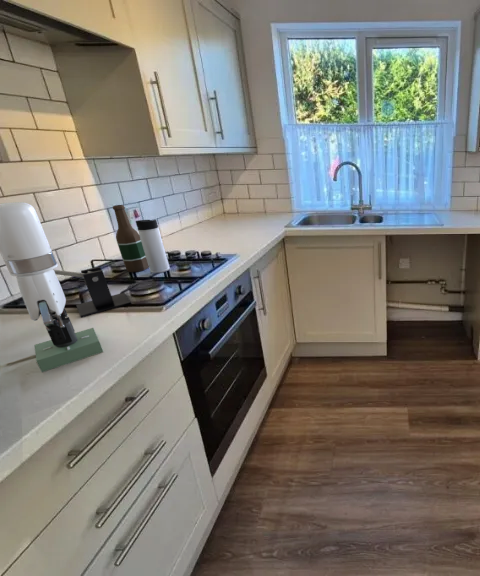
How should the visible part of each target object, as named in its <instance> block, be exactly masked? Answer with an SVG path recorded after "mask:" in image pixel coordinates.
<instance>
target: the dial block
mask: <svg viewBox="0 0 480 576" xmlns="http://www.w3.org/2000/svg"><path fill="white" fill-rule="evenodd" d="M75 334H76V336H77V339H78V340H77V341H76V342H75V343H74V344H71V345H69V346H65V347H56V346H54V344H53V342H52V340H51V339H49V340H47V341H43V342H39V343H35V344H34V352H35V353H34V354H35V360H36V363H37V365H38V367H39V370H40V371H41V373H44V372H47V371H50V370H53V369H56V368H59V367H62V366H66V365H68V364H71V363H73V362H77V361H80V360H83V359H86V358H90V357H92V356H94V355H98V354H102V353H104V350H103V347H102V345H101V342H100V339H99V337H98V335H97V332H96V331H95V328H94V327H91V328H87V329H84V330H80V331H77V332H75Z"/></svg>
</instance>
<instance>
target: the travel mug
mask: <svg viewBox="0 0 480 576" xmlns="http://www.w3.org/2000/svg"><path fill="white" fill-rule="evenodd" d="M135 225H136V227H137V232H138V234H139V235H140V239H141V242H142V245H143V249H144V252H145V255H146V259H147V262H148V265H149V268H148V269H149V272H150V274H162V273H165V272H167V271H170V269H171V266H170V264H169V260H168V257H167V252H166V249H165V246H164V242H163V239H162V235H161V232H160V231H161V230H160V229H159V228H160V227H159V225H158V222H157V219H140V220H139V219H138V220H135Z"/></svg>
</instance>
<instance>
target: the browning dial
mask: <svg viewBox="0 0 480 576" xmlns="http://www.w3.org/2000/svg"><path fill="white" fill-rule="evenodd" d="M57 321H58V320H57ZM62 321H63V324H64V326H67V328H68V331H69V333H70V335H71V338H72V342H69V343H65V344H61V345H57V346H56V347H65V346H69V345H71V344H74V343H75V342H76V341H77V340H78V339H77V336H76V334H75V333H76V332H75V331H74V330H75V328H74V326H73V324H72V325H71V323H72V321H71V319H70V320H62ZM70 321H71V322H70ZM72 326H73V327H72ZM73 328H74V329H73Z"/></svg>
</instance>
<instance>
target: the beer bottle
mask: <svg viewBox="0 0 480 576" xmlns="http://www.w3.org/2000/svg"><path fill="white" fill-rule="evenodd" d="M112 210H113V211H114V214H115V215H114V216H115V219H116V223H117V231H116V232H115V239H116V243H117V246H118V250H119V253H120V255H121V258H122V262H123V265H124V268H125V269H126V271H127V272H128V273H138V272H142V271H145V270H147V269H150V268H149V265H148V262H147V259H146V255H145V252H144V249H143V245H142V242H141V239H140V235H139V231H138V230H136V229H135V228H134V227H133V226H132V224H131V222H130V219H129V217H128V214H127V211H126V206H125V205H123V204H116V205H112Z"/></svg>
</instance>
